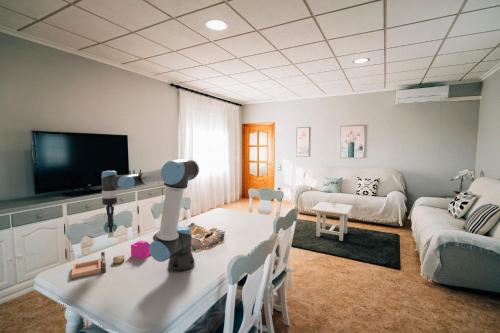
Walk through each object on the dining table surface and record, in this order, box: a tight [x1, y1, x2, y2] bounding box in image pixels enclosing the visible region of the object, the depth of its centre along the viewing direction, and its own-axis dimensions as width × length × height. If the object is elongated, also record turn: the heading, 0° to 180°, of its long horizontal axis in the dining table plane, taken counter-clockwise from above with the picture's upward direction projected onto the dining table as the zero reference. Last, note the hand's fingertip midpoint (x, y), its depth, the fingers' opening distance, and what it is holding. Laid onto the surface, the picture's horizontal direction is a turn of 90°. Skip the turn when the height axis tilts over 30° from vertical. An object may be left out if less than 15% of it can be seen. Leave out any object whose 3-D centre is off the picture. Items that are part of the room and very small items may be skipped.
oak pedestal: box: [112, 254, 125, 265], centre depth 147 cm, size 6×6×3 cm
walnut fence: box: [100, 251, 107, 274], centre depth 142 cm, size 18×2×5 cm, turn 33°
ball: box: [103, 220, 118, 234], centre depth 143 cm, size 7×7×7 cm
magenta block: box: [130, 240, 151, 260], centre depth 159 cm, size 12×10×10 cm
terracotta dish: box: [71, 258, 102, 280], centre depth 137 cm, size 13×13×2 cm
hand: (110, 235), depth 144 cm, fingers closed on ball, 7 cm apart
